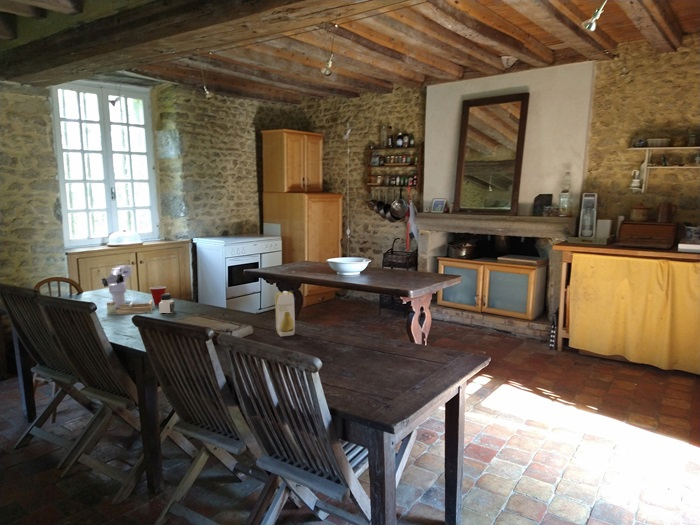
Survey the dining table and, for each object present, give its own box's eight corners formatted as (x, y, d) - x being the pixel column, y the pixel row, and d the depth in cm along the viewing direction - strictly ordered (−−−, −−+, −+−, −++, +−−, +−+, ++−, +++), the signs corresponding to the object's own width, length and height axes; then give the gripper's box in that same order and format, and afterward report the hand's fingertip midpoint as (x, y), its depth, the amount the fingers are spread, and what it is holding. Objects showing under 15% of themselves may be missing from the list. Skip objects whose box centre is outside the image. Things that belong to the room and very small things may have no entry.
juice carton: (279, 337, 258) (277, 293, 254) (275, 333, 265) (274, 290, 261) (296, 335, 262) (295, 291, 258) (291, 331, 269) (290, 288, 265)
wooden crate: (120, 310, 318) (119, 301, 317) (152, 307, 323) (152, 299, 322) (116, 314, 306) (116, 306, 305) (151, 312, 312) (150, 303, 311)
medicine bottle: (170, 314, 307) (169, 295, 305) (159, 314, 307) (158, 295, 305) (174, 311, 314) (173, 292, 312) (163, 311, 314) (162, 292, 313)
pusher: (131, 308, 318) (131, 301, 317) (133, 308, 319) (133, 301, 318) (129, 311, 309) (129, 304, 309) (131, 311, 310) (131, 304, 309)
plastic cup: (167, 301, 340) (166, 284, 338) (167, 305, 330) (166, 287, 328) (151, 302, 337) (149, 285, 335) (150, 306, 327) (148, 288, 325)
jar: (108, 312, 311) (107, 302, 310) (116, 312, 312) (116, 301, 311) (106, 314, 306) (105, 304, 305) (115, 314, 307) (114, 303, 306)
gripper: (100, 274, 314) (96, 281, 302) (124, 268, 317) (120, 275, 304) (104, 284, 317) (100, 291, 304) (127, 278, 319) (124, 285, 307)
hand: (110, 283), depth 304 cm, fingers open, 7 cm apart
